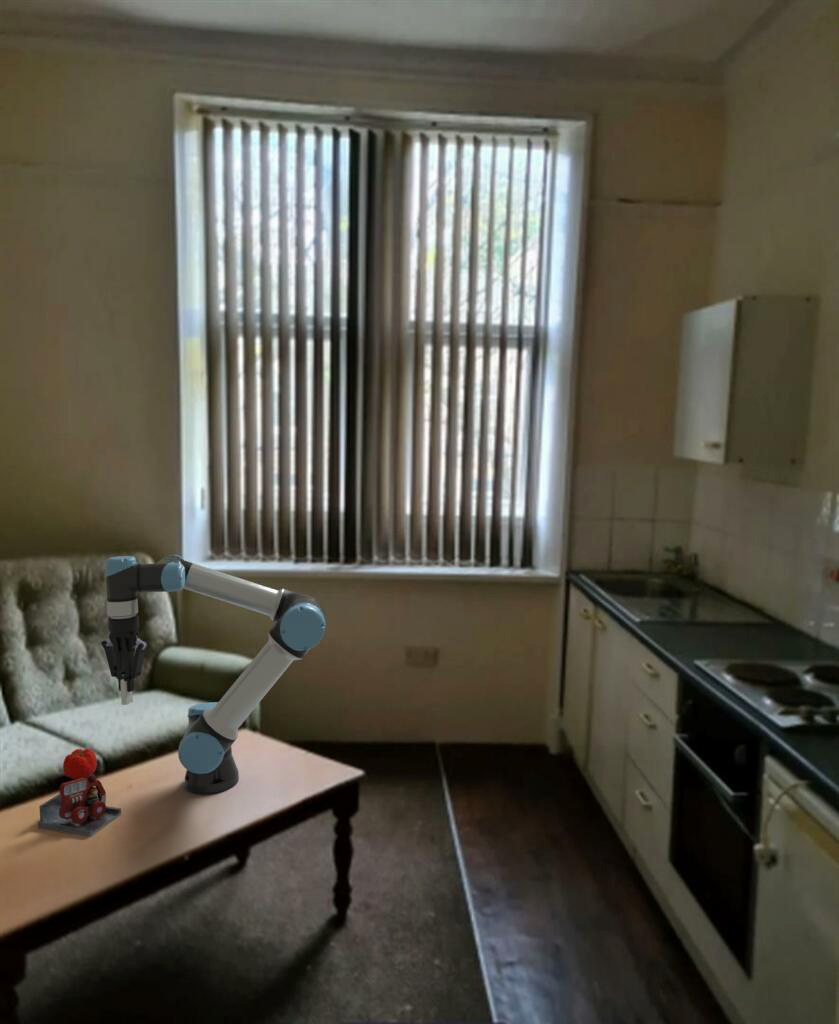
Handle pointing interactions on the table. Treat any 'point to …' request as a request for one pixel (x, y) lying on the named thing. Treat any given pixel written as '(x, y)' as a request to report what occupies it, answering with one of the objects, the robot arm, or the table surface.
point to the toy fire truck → (82, 799)
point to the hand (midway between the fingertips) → (127, 702)
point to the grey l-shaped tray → (56, 823)
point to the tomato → (80, 764)
